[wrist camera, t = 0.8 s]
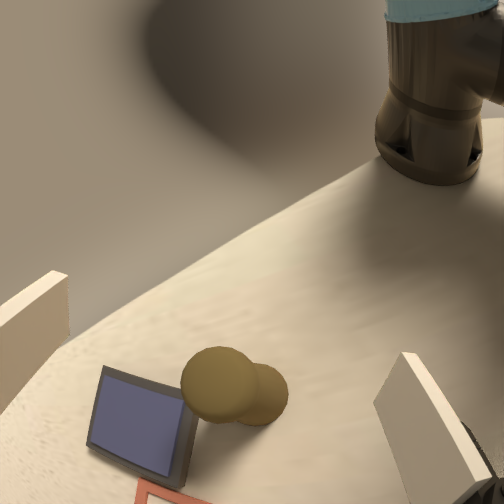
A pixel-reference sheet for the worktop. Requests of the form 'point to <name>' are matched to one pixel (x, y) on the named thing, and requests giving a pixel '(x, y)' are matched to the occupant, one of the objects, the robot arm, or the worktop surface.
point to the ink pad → (143, 426)
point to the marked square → (162, 493)
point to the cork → (232, 388)
